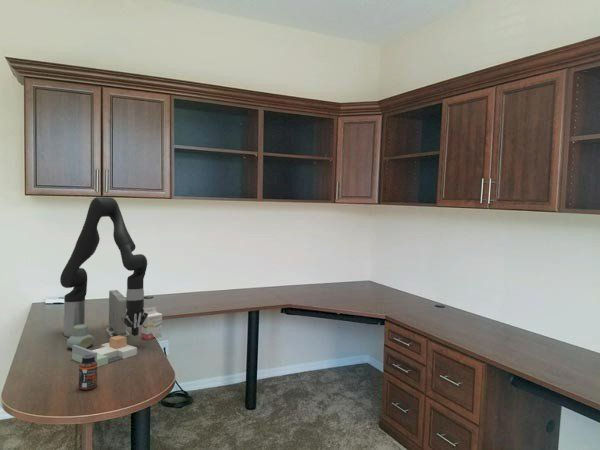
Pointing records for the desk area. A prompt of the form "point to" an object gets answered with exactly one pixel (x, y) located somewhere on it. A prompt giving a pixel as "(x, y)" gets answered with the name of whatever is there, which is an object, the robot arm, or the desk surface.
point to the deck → (103, 353)
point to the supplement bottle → (88, 373)
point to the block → (118, 342)
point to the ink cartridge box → (152, 324)
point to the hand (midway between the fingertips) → (134, 335)
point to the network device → (117, 313)
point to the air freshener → (80, 337)
